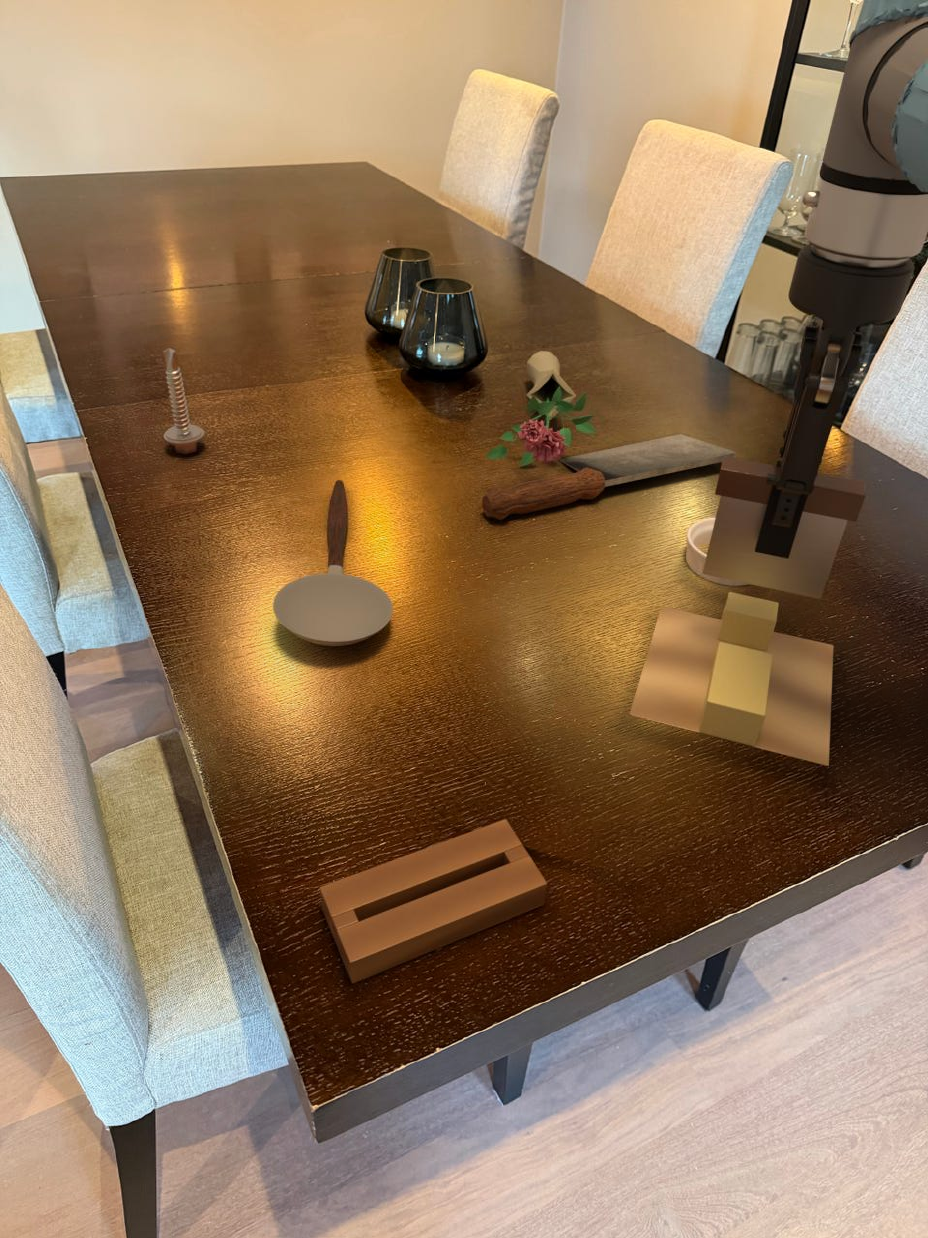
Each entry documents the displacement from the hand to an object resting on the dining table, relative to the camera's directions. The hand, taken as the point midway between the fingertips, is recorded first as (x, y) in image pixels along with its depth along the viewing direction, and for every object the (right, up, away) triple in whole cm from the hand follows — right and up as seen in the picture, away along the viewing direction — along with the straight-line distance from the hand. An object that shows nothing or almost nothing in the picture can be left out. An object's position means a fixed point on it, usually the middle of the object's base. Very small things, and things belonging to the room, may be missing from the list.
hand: (773, 542), depth 75 cm
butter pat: (0, -8, +8) cm, 12 cm away
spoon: (-39, -1, +18) cm, 43 cm away
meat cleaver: (-10, +11, +34) cm, 37 cm away
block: (-28, -26, -14) cm, 41 cm away
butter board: (-2, -13, +5) cm, 14 cm away
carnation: (-15, +30, +53) cm, 63 cm away
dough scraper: (0, -3, +3) cm, 4 cm away
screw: (-60, +15, +36) cm, 72 cm away
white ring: (+1, -2, +19) cm, 19 cm away
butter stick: (-3, -14, +1) cm, 14 cm away
